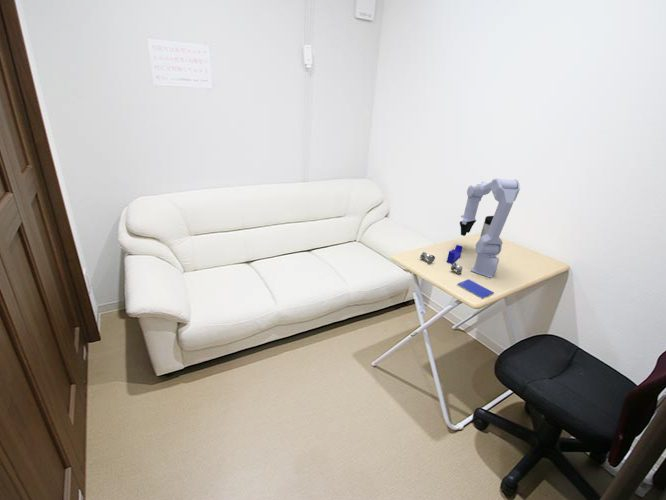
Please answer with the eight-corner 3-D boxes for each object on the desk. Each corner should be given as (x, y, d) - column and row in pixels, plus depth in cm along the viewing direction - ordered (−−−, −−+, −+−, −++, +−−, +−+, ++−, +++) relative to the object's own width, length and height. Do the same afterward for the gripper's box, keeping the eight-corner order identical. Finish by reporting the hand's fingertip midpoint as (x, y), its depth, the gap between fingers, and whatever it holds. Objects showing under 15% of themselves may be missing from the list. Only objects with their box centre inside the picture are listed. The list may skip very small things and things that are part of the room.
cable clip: (451, 254, 181) (454, 243, 179) (460, 257, 179) (462, 246, 176) (443, 261, 172) (446, 250, 170) (452, 264, 170) (455, 253, 167)
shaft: (434, 261, 169) (435, 255, 167) (429, 263, 167) (430, 256, 165) (424, 256, 173) (426, 250, 172) (419, 258, 172) (421, 251, 170)
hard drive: (457, 283, 150) (483, 297, 141) (468, 278, 155) (494, 291, 146) (456, 286, 151) (482, 300, 142) (468, 281, 156) (493, 295, 147)
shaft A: (450, 270, 161) (451, 263, 160) (453, 268, 164) (454, 261, 162) (459, 273, 159) (460, 266, 158) (461, 271, 162) (463, 264, 160)
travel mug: (489, 252, 187) (499, 217, 178) (487, 256, 182) (497, 220, 173) (477, 248, 190) (487, 214, 181) (475, 252, 184) (484, 217, 176)
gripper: (467, 204, 185) (462, 228, 190) (458, 210, 174) (452, 235, 179) (481, 207, 181) (475, 231, 186) (472, 213, 170) (466, 239, 176)
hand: (465, 233), depth 183 cm, fingers open, 6 cm apart
